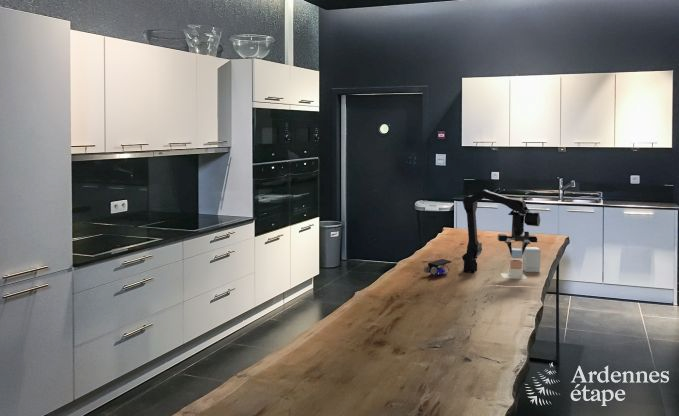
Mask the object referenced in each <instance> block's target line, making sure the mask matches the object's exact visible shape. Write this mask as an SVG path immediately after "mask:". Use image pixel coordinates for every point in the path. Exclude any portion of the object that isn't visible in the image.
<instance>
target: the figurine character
mask: <svg viewBox="0 0 679 416" xmlns="http://www.w3.org/2000/svg"><path fill="white" fill-rule="evenodd" d="M452 261H453V260H449V259H445V258H444V259H443V258H441V259H436V260H433V261H430V262H428V264H427V265H425V266H424V267H423V269H422V271H423V272H424V273H426V274H428V273H429V274H428V275H427V276H428V277H432V278H435V277H438V276H439V275H441V274H442V275H446V274H448V273H449V271H450V269H449V268H450V266H449V265H447V264H450V263H452Z"/></svg>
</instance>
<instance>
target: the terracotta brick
mask: <svg viewBox="0 0 679 416" xmlns="http://www.w3.org/2000/svg"><path fill="white" fill-rule="evenodd" d="M509 266H510V267H511V269H522V267H523V260H522V258H510V262H509Z"/></svg>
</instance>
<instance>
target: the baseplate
mask: <svg viewBox="0 0 679 416" xmlns="http://www.w3.org/2000/svg"><path fill="white" fill-rule="evenodd" d="M500 276H501V277H502V279H519V280H528V277H527V276H526V274H524V273H523V277H510V276H509V273H500Z"/></svg>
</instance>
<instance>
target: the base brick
mask: <svg viewBox="0 0 679 416" xmlns="http://www.w3.org/2000/svg"><path fill="white" fill-rule="evenodd" d="M508 274H509V276H510V277H523V274H524V270H523V269H511V267H510V265H509V266H508Z"/></svg>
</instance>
